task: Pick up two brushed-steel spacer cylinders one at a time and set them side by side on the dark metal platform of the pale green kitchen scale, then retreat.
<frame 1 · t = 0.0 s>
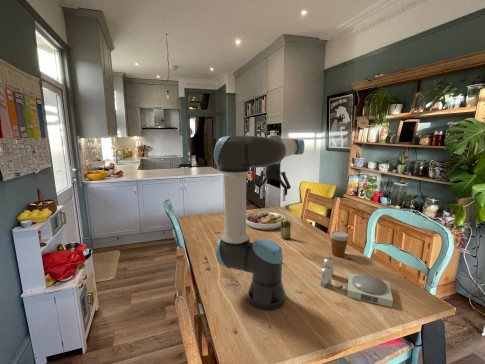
hand: (272, 199, 149), 28 cm above the table, fingers open, 13 cm apart
disposable coffee cup: (338, 254, 142), on the table
spacer A: (325, 285, 113), on the table
kitchen scale: (368, 292, 108), on the table
bowl: (264, 224, 191), on the table
spacer B: (327, 275, 121), on the table
asparagus bundle: (285, 238, 164), on the table
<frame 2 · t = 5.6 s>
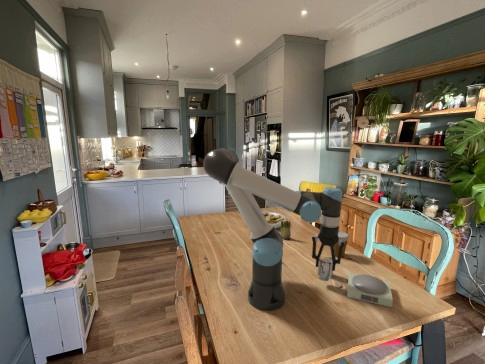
hand: (324, 275, 113), 5 cm above the table, fingers closed on spacer A, 4 cm apart
spacer A: (324, 278, 113), point 3 cm above the table, touching gripper
everything else where it was.
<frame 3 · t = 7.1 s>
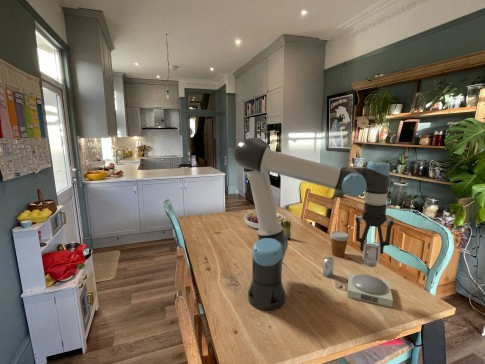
hand: (370, 259, 103), 16 cm above the table, fingers closed on spacer A, 4 cm apart
spacer A: (370, 264, 104), point 14 cm above the table, touching gripper
everything else where it was.
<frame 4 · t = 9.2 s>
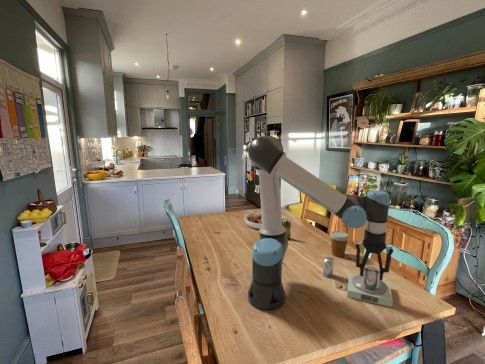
hand: (370, 284, 105), 5 cm above the table, fingers closed on spacer A, 4 cm apart
spacer A: (369, 287, 105), point 4 cm above the table, touching gripper, kitchen scale
everything else where it was.
when the fingers open (5 cm above the table, at t = 9.5 s): spacer A stays where it is, resting on kitchen scale.
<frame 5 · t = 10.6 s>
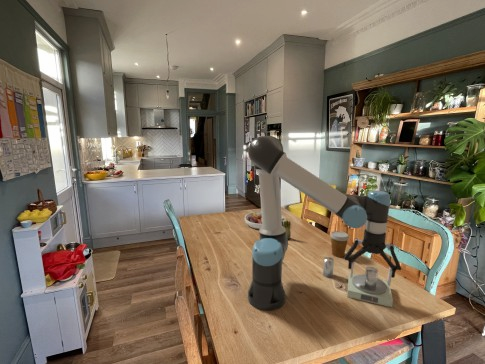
hand: (369, 280, 104), 7 cm above the table, fingers open, 13 cm apart
spacer A: (369, 287, 105), point 4 cm above the table, touching kitchen scale
everything else where it was.
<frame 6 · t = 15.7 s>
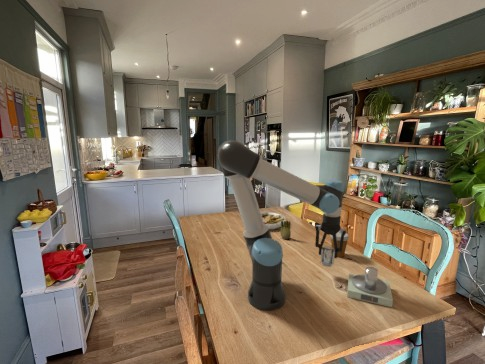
hand: (327, 262, 120), 6 cm above the table, fingers closed on spacer B, 4 cm apart
spacer B: (326, 264, 120), point 6 cm above the table, touching gripper
everything else where it was.
when the fingers open (5 cm above the table, at t = 19.5 s): spacer B stays where it is, resting on kitchen scale.
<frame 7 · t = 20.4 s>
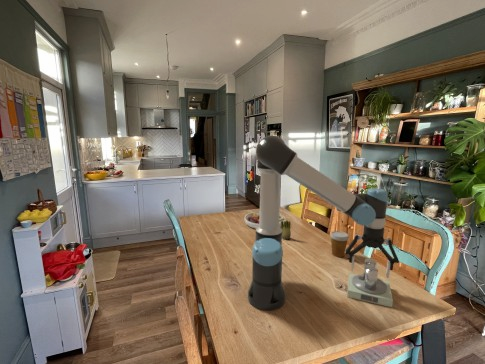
hand: (369, 272, 111), 7 cm above the table, fingers open, 13 cm apart
spacer B: (368, 278, 111), point 4 cm above the table, touching kitchen scale
everything else where it was.
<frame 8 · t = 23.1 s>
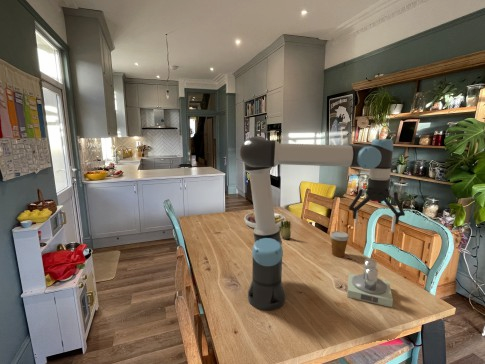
hand: (373, 228, 107), 27 cm above the table, fingers open, 13 cm apart
nothing on the table moved.
at the end: spacer A inside the target area on the kitchen scale (3.2 cm from its centre), point 4.0 cm above the kitchen scale's base; spacer B inside the target area on the kitchen scale (3.8 cm from its centre), point 4.0 cm above the kitchen scale's base; the gripper is holding nothing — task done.
